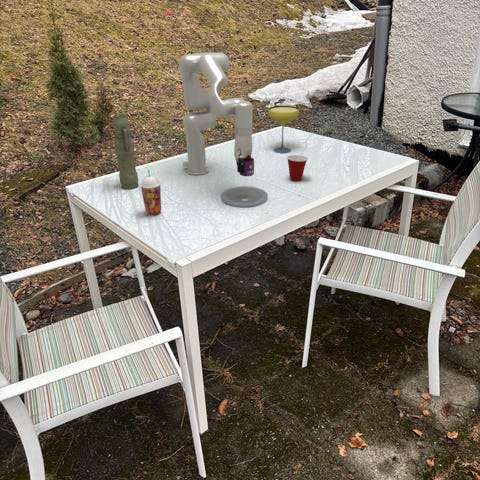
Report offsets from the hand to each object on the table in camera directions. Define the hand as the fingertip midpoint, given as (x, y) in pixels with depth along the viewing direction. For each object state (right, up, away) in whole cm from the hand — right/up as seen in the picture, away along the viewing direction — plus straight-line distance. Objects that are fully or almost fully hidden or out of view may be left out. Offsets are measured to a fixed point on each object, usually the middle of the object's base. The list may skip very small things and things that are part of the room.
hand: (244, 169), depth 201 cm
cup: (0, -1, +2) cm, 2 cm away
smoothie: (-40, -20, -6) cm, 46 cm away
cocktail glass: (+24, +22, +68) cm, 76 cm away
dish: (0, -12, +7) cm, 14 cm away
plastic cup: (+27, -1, +27) cm, 38 cm away
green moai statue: (-58, -5, +21) cm, 62 cm away
